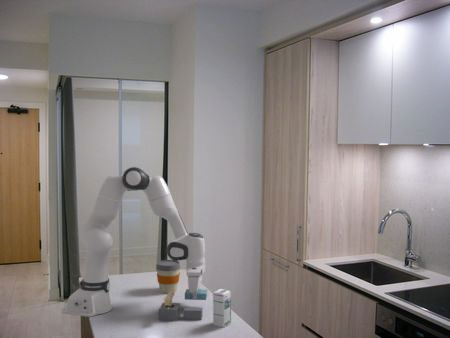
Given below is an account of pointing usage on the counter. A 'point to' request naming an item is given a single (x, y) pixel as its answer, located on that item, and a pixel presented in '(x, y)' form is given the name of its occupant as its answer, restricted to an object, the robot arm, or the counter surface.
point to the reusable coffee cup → (168, 275)
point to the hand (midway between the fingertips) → (196, 296)
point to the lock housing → (174, 312)
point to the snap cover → (200, 295)
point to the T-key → (169, 298)
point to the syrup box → (222, 307)
